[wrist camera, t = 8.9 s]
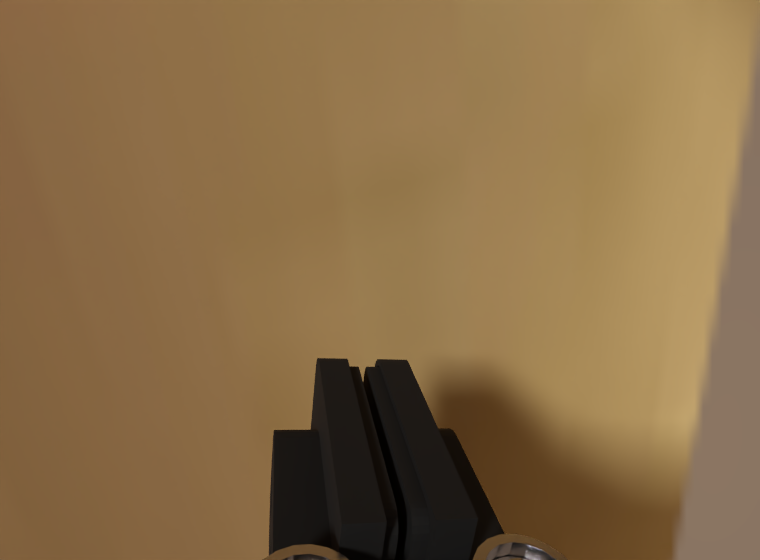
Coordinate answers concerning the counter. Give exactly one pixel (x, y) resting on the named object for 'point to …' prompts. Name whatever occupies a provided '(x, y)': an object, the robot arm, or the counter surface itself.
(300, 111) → the counter surface
